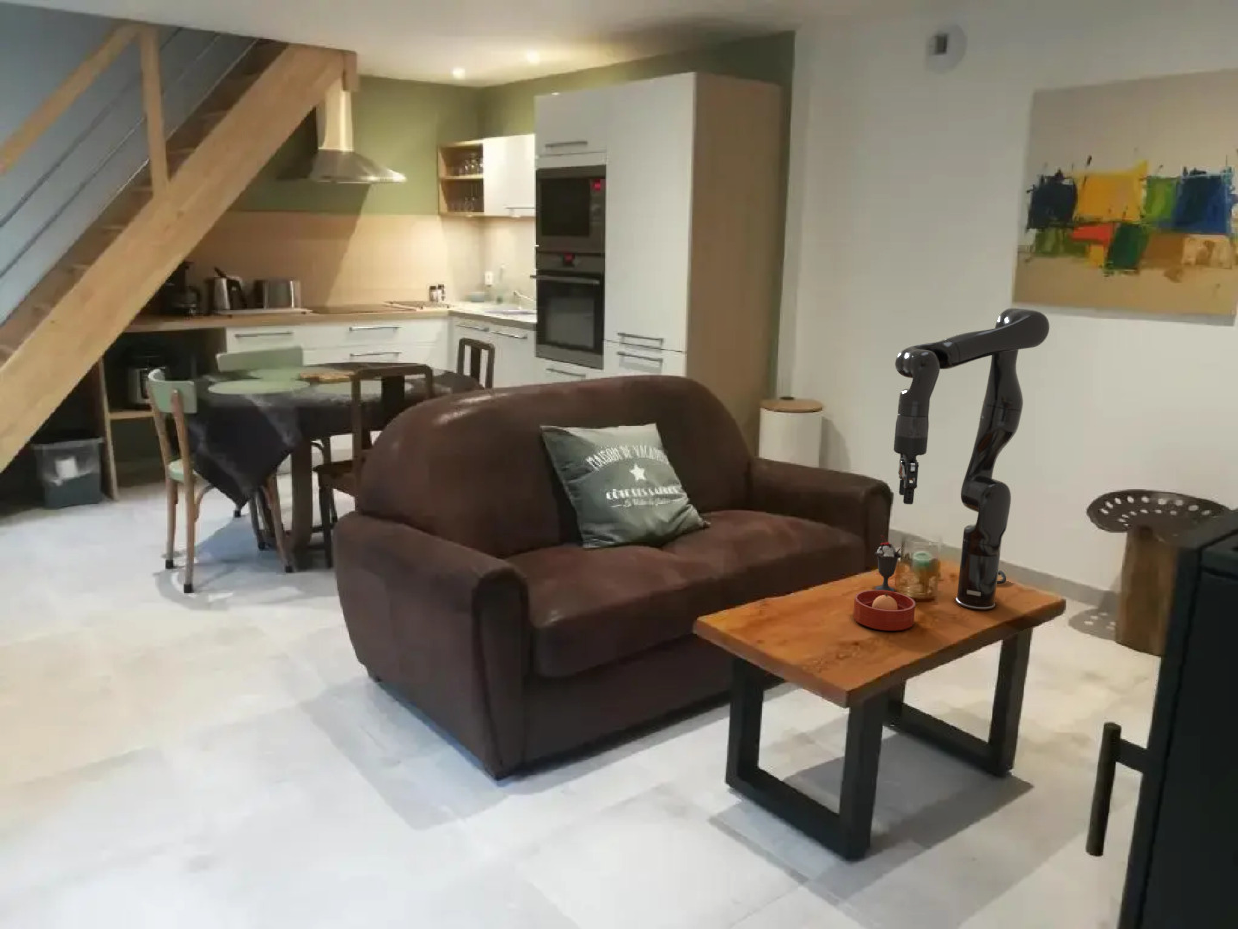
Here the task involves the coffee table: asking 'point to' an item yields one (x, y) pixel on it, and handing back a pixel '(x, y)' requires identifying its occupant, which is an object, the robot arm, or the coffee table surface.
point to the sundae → (887, 563)
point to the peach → (885, 603)
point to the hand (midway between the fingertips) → (905, 499)
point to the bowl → (884, 611)
